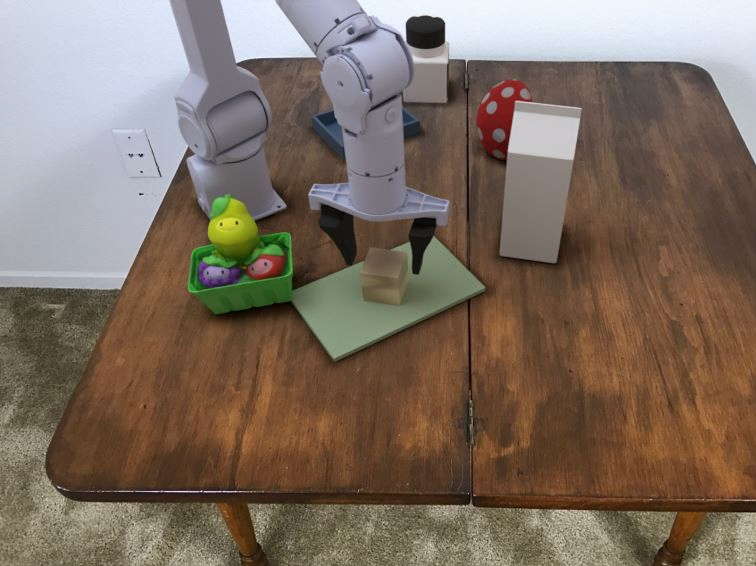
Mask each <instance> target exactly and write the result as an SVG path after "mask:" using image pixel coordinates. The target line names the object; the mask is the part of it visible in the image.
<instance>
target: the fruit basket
mask: <svg viewBox="0 0 756 566" xmlns="http://www.w3.org/2000/svg"><path fill="white" fill-rule="evenodd" d="M210 217H211V220H209V224H208V227H207V236H208V240H209V241H210V243H211V244H208V245H203V246H198V247H196V248H195V249H193V250H192V252H191V255H190V263H189V264H190V265H189V273H188V281H187V290H188V292H189V293H191V294H192V295H193V296H195V297H196V298H198V299H199V300H200V301H201V302H202V303H203V304H204V305H205V306H206V307H207V308H208V309H209V310H210V311H211V312H212V313H213V314H214V315H221V314H225V313H229V312H231V311H233V312H235V311H236V312H237V311H243V310H249V309H251V308H253V307H254V308H261V307H265V306H271V305H273V304H282V303H287V302H291V300H292V291H293V279H292V278H293V276H294V267H293V253H292V251H293V250H292V235H291V234H290V233H289V232H287V231H286V232H285V231H283V232H277V233H271V234H265V235H259V228H258V224H257V223H256V220H255V221H254V220H253V218H252V217H251V216H250V215H249V213H248V211H247V208H246V206H245V205H244V203H242V202H240V201H238V200H236V199H233V198H232V196H231V195H225V198H223V197H219V198H216V199H215V200H214V201H213V203H212V212H211V214H210Z"/></svg>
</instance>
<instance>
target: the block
mask: <svg viewBox="0 0 756 566" xmlns="http://www.w3.org/2000/svg"><path fill="white" fill-rule="evenodd" d="M363 261H364V264H363V266H362V269H361V271H360V278H361V286H362V294H363V301H370V302H377V303H384V304H391V305H398V306H400V305H401V302H402V299H403V296H404V293H405V290H406V287H407V284H408V281H409V276H408V257H407V252H402V251H394V250H391V249H385V248H379V247H369V250H368V252H367V255H366V257H365V259H364V260H363Z"/></svg>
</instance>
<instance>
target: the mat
mask: <svg viewBox="0 0 756 566" xmlns="http://www.w3.org/2000/svg"><path fill="white" fill-rule="evenodd" d="M390 250H394V251H402V252H407V257H408V276H409V281H408V284H407V287H406V290H405V293H404V296H403V299H402V302H401V305H400V306H398V305H391V304H384V303H377V302H370V301H363V294H362V286H361V278H360V271H361V269H362V266H363V264H364V261H365V260H363V261H360V262H358V263H355V264H352V266H348V267H346V268H344V269H341V270H339V271H335V272H334V273H331V274H329V275H327V276H325V277H322V278H320V279H317V280H315V281H311V282H310V283H308V284H305V285H302V286H301V287H298V288H296V289H292V300H291V301H290V302H291V304H292V305H293V306H294V308H295V309H296V311H297V312H298V314H299V315H300V316H301V318H302V319H303V321H304V322H305V323H306V325H307V326H308V328H309V329H310V330H311V331H312V333H313V335H314V336H315V337H316V338H317V340H318V342H319V343H320V345H321V346H322V347H323V348H324V350H325V352H326V353H327V354H328V355H329V357H330V358H331V360H332V361H333V362H334V363H336V362H338V361H341V360H342V359H344V358H346V357H349V356H350V355H353V354H356V353H357V352H359V351H361V350H364V349H365V348H367V347H370V346H372V345H374V344H377V343H379V342H380V341H382V340H385V339H386V338H387V339H388V338H389V337H391V336H393V335H396V334H398V333H400V332H402V331H404V330H405V329H408V328H410V327H413V326H414V325H416V324H418V323H421V322H422V321H425V320H427V319H429V318H431V317H433V316H435V315H437V314H439V313H441V312H445V311H446V310H448V309H451V308H452V307H455V306H457V305H458V304H462V302H465V301H468V300H470V299H471V298H473V297H475V296H478V295H480V294H482V293H485V292H486V286H485V285H484V284H483V283H482V282H481V281H480V280H479V279H478V278H477V277H476V276H475V275H474V274H473V273H472V272H471V271H470V270H469V269H468V268H467V267H466V266H465V265H463V263H462V262H461V261H460V260H458V258H457V257H455V255H454V254H453V253H452V252H451V251H449V249H448V248H447V247H445V245H443V244H442V243H441V241H439V239H437V238H436V237H435V236H433V238H432V240H431V242H430V244H429V245H428V246H427V248H426V250H425V252H424V255H423V263H422V267H421V270H420V273H419V275H415V274H413V273H412V250H411V245H410V241H408V242H406V243H403V244H401V245H398V246H396V247H393V248H392V249H391V248H390Z"/></svg>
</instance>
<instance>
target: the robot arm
mask: <svg viewBox="0 0 756 566" xmlns="http://www.w3.org/2000/svg"><path fill="white" fill-rule="evenodd" d="M168 1H169V5H170V8H171V13H172V15H173V19H174V21H175V25H176V28H177V31H178V35H179V38H180V42H181V45H182V48H183V52H184V54H185V55H184V56H185V57H186V61H187V65H188V67H189V72H188V73H187V75H186V77H185V78H184V80H183V82H182V83H181V85H180V86H179V88H177V91H176V92H175V93H174V97H173V98H174V101H175V107H176V110H177V126H178V129H179V133H180V134H181V137H182V139H183V140H184V142H185V144H186V145H187V146H188V148H189V149H190V150H191V152H193V153H194V154H193V155H191V156H189V157H187V158H186V165H187V170H188V172H189V174H190V178H191V181H192V184H193V187H194V190H195V193H196V197H197V199H198V200H197V202H198V204H199V206H200V207H201V210H202V211H203V212H204V213H205V215H206V216H207V217H208V219H209V221H211V217H210V214H211V212H212V203H213V201H214V200H215V199H216V198H219V197H223V198H225V195H231V196H232V198H233V199H236V200H238V201H240V202H242V203H244V205H245V206H246V208H247V211H248V213H249V215H250V216H251V217H252V218H253V220H254V221H255V222H256V221H258V220H261V219H263V218H266V217H269V216H271V215H274V214H275V213H277V212H280V211H283V210H285V209H287V207H288V206H287V204H286V202H285V201H284V200H283V199H282V198H281V196H280V195H279V194H278V193H277V192H276V190H275V189H274V188H273V184H272V181H271V176H270V171H269V166H268V163H267V162H268V161H267V159H266V153H265V149H264V145H263V144H264V143H265V142H266V141H268V139H267V134H266V132H268V131H269V130H270V129H271V127H272V123H273V115H272V114H273V113H272V109H271V106H270V104H269V102H268V100H267V98H266V96H265V95H264V92H263V90H262V87H261V83H260V79H259V78H258V77H257V76H256V75H255V74H253V73H252V72H251V71H250V70H248V69H246V68H244V67H241V66H238V65H237V61H236V56H235V52H234V49H233V46H232V41H231V36H230V33H229V29H228V25H227V21H226V16H225V13H224V9H223V5H222V1H221V0H168ZM274 1H275V4H276V5H277V6H278V7H279V8H280V10H281V11H282V13H283V14H284V15H285V17H286V18H287V20H288V21H289V22H290V24H291V25H292V26H293V28H294V29H295V30H296V32H297V33H298V34H299V36H300V37H301V38H302V39H303V41H304V42H305V44H306V46H308V48H309V49H310V50H311V52H312V53H313V54H314V55H315V57H316V58H317V60H318V61H319V62H320V64H321V66H323V67H322V71H319V75H320V76H319V77H320V80H321V83H322V86H323V88H324V91H325V93H326V94H327V96H328V98H329V100H330V102H331V104H332V107H333V108H332V109H334V114H335V118H336V119H337V122H338V124H339V125H340V126H342V133H343V141H344V149H345V157H346V159H345V163H346V164H345V165H346V172H347V180H348V182H343V183H342V182H340V183H329V184H328V183H327V184H324V183H323V184H322V183H313V185H312V186H311V188H310V190H309V192H308V194H307V195H308V196H307V197H308V201H309V205H310V206H309V207H310V210H312V211H320V215H319V218H318V220H317V221H318V222H317V223H318V226H319V228H320V229H321V231H323V232H324V233H325V234H326V235H327V236H328V237H329V238H330V239H331V240H332V242H333V243H334V244H335V246H336V247H337V249H338V251H339V252H340V254H341V256H342V258H343V260H344V263H345V265H346V266H348V267H350V266H353V265H354V262H355V260H356V258H357V256H358V248H357V247H358V246H357V239H356V234H355V233H356V232H355V225H354V217H356V218H359V219H361V220H364V221H367V222H379V223H380V222H389V221H390V222H391V221H401V220H410V219H411V220H412V219H413V222H412V224H411V225H410V230H409V232H408V240H409V241H408V242H410V245H411V250H412V273H413V274H415V275H419V273H420V270H421V267H422V263H423V255H424V252H425V250H426V248H427V246H428V245H429V244H430V242H431V240H432V238H433V236H434V235H435V232H436V229H437V226H439V227H447V225H448V222H449V218H450V211H451V210H450V209H451V208H450V207H451V206H450V199H444V198H439V197H435V196H432V195H430V194H427V193H424V192H422V191H420V190H416V189H414V188H411V187H408V186H407V183H406V182H407V181H406V164H405V156H406V155H405V141H404V140H405V138H404V136H403V115H402V106H403V94H401V93H403V90H404V89H406V88H407V87H409V86H410V84H411V83H412V81H413V78H414V62H413V58H412V54H411V52H410V49H409V47H408V46H407V44H406V42H405V41H406V40H405V39H404V37H403V35H402V34H401V32H400V31H399V30H397V29H396V28H395V27H393V26H392V25H390V24H386V23H383V22H382V21H381V20H380V19H379V18H378V16H374V14H373V15H368V14H367V13H366V11H365V9H364V8H363V7H362V5H361V4H360V3H359V1H358V0H274ZM434 237H435V236H434Z"/></svg>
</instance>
